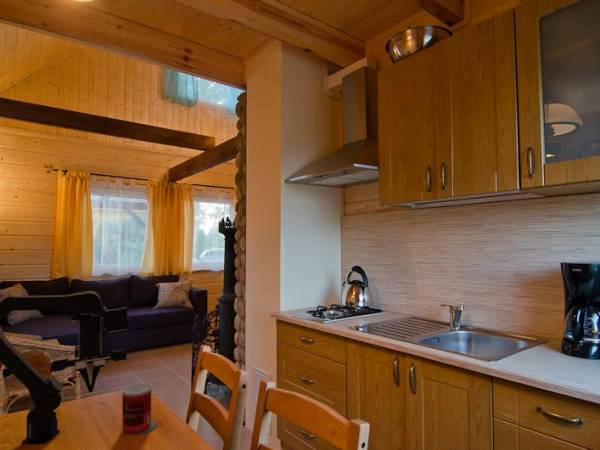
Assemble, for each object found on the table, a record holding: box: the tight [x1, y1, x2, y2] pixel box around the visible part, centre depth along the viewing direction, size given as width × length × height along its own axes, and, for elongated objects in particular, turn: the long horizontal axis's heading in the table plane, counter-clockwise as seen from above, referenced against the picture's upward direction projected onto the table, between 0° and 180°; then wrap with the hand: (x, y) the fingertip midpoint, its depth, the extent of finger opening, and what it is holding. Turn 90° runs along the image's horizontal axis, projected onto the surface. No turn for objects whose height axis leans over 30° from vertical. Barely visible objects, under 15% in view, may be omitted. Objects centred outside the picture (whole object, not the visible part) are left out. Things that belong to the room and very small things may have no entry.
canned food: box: [121, 383, 152, 435], centre depth 110 cm, size 8×8×11 cm
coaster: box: [134, 420, 158, 435], centre depth 110 cm, size 8×8×1 cm
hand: (90, 392), depth 107 cm, fingers closed
